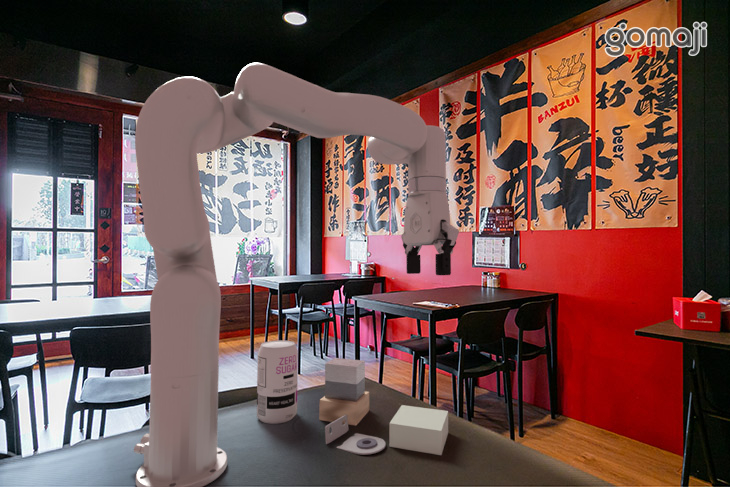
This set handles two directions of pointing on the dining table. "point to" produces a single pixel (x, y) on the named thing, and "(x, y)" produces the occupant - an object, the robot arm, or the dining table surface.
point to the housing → (345, 379)
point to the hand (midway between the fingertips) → (427, 274)
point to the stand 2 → (419, 429)
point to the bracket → (353, 439)
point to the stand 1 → (344, 409)
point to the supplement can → (277, 381)
